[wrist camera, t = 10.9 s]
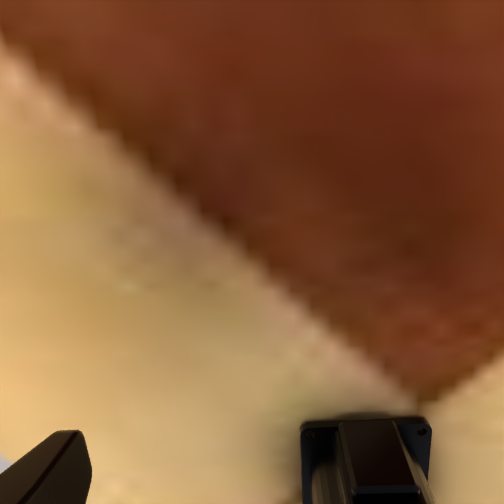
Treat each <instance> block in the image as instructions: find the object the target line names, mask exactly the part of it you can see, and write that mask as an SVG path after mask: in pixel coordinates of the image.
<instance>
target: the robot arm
mask: <svg viewBox="0 0 504 504" xmlns="http://www.w3.org/2000/svg"><path fill="white" fill-rule="evenodd" d="M419 428H423V429H421V430H418V429H419ZM307 432H313V433H312V434H307ZM431 436H432V429H431V426H430V424H429V422H428V421H427V420H426V419H424V418H406V419H380V420H353V421H327V422H308V423H305V424H303V425H302V426H301V427H300V448H301V474H302V500H303V504H436V503H435V500H434V498H433V495H432V493H431V490H430V488H429V485H428V483H427V482H428V470H429V459H430V447H431ZM91 479H92V466H91V462H90V458H89V454H88V450H87V446H86V442H85V438H84V435H83V433H82V432H81V431H79V430H60V431H56V432H54V433H53V434H51V435H50V436H49V437H47V438H46V439H45V440H44V441H42V442H41V443H40V444H38V445H37V446H36V447H35V448H33V449H32V450H31V451H29V452H28V453H27V454H25V455H24V456H23V457H22V458H20V459H19V460H18V461H16V462H15V463H14V464H13V465H11V466H10V467H9V468H8V469H6V470H5V471H4V472H2V473H1V474H0V504H86V500H87V496H88V492H89V488H90V484H91Z"/></svg>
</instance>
